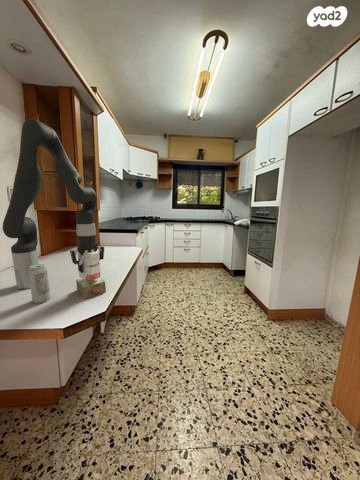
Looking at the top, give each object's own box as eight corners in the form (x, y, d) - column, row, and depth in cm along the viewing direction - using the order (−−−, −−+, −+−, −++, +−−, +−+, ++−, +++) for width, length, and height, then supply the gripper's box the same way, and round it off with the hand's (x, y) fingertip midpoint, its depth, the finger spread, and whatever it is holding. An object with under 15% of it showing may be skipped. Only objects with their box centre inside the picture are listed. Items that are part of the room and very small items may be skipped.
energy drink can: (46, 295, 82) (42, 262, 79) (53, 299, 79) (49, 265, 76) (29, 301, 77) (24, 266, 74) (37, 305, 74) (31, 269, 71)
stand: (85, 298, 79) (84, 287, 78) (77, 290, 87) (76, 279, 86) (106, 292, 85) (105, 281, 84) (96, 284, 93) (96, 274, 92)
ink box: (101, 276, 86) (99, 251, 83) (92, 280, 81) (90, 254, 79) (88, 273, 89) (86, 249, 87) (78, 277, 85) (76, 252, 83)
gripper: (70, 236, 74) (74, 276, 77) (106, 233, 84) (108, 269, 87) (65, 234, 79) (69, 272, 82) (100, 231, 89) (102, 265, 92)
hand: (89, 270), depth 85 cm, fingers closed on ink box, 6 cm apart
